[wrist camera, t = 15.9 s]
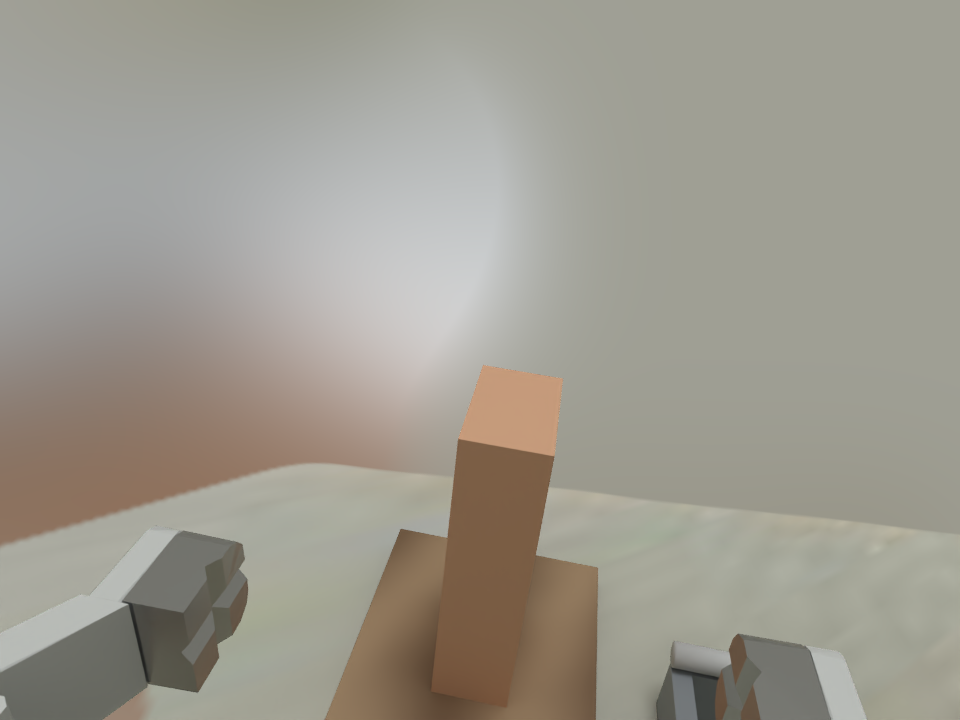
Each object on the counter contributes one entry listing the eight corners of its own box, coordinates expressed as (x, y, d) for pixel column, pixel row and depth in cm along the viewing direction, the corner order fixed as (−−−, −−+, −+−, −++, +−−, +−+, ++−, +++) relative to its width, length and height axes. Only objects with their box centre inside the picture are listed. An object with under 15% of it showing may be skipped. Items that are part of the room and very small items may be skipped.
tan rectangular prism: (520, 608, 31) (562, 378, 25) (506, 708, 27) (554, 456, 21) (455, 595, 31) (483, 365, 26) (430, 691, 27) (458, 438, 21)
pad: (594, 582, 34) (597, 567, 34) (588, 837, 24) (593, 821, 23) (399, 543, 35) (400, 528, 35) (310, 772, 25) (310, 755, 24)
